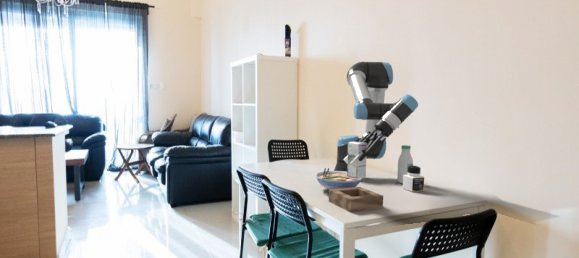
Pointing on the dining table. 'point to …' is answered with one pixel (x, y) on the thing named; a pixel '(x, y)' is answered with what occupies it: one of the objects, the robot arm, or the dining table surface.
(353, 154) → the syrup box
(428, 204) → the dining table surface
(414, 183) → the medicine bottle
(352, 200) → the walnut holder
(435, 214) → the dining table surface
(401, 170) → the milk bottle
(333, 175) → the ramen bowl
